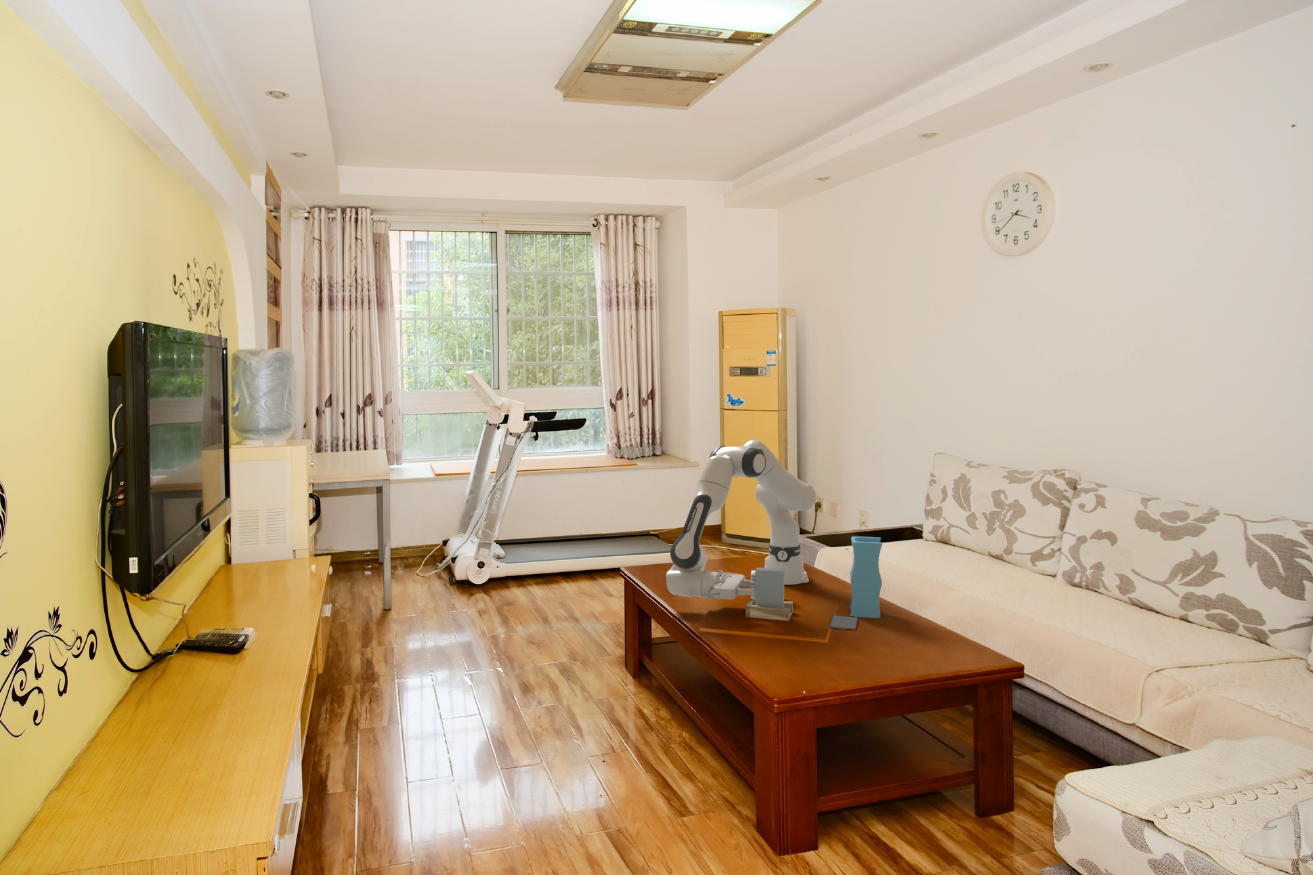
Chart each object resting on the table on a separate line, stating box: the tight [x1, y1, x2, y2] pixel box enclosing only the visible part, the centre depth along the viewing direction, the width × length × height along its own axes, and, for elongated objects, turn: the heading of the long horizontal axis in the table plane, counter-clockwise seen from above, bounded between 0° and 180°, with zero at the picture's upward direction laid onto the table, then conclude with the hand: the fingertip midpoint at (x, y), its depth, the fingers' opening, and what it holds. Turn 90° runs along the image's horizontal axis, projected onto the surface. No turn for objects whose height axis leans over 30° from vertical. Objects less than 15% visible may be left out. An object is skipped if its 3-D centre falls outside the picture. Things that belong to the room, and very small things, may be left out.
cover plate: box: [754, 567, 785, 607], centre depth 277 cm, size 4×9×15 cm, turn 74°
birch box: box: [745, 597, 794, 621], centre depth 277 cm, size 10×14×4 cm
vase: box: [849, 536, 883, 619], centre depth 282 cm, size 10×10×25 cm
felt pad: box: [828, 615, 859, 631], centre depth 271 cm, size 12×12×1 cm
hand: (753, 588), depth 279 cm, fingers open, 8 cm apart
